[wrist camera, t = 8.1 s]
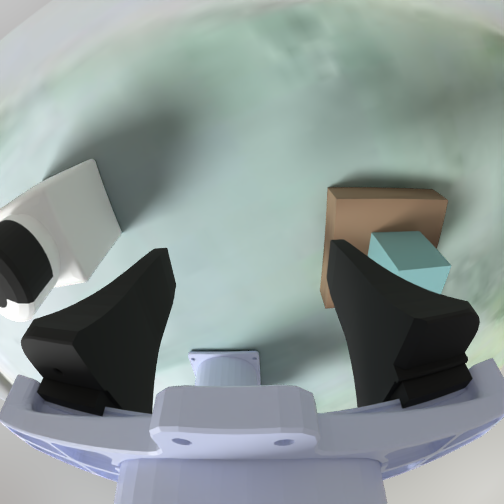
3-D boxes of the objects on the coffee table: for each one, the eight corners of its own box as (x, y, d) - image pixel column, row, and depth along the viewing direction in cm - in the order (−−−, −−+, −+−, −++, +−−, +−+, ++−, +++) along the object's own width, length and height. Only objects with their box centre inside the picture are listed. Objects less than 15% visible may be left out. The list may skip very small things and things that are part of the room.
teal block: (407, 276, 22) (432, 314, 18) (362, 280, 22) (383, 322, 18) (419, 230, 20) (451, 265, 16) (371, 232, 20) (398, 270, 16)
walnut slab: (409, 278, 26) (421, 297, 24) (318, 287, 26) (325, 308, 24) (429, 187, 21) (448, 200, 18) (325, 185, 21) (336, 199, 19)
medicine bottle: (39, 182, 20) (-52, 250, 10) (95, 156, 19) (-10, 224, 9) (67, 248, 23) (0, 334, 13) (124, 233, 23) (56, 335, 12)
